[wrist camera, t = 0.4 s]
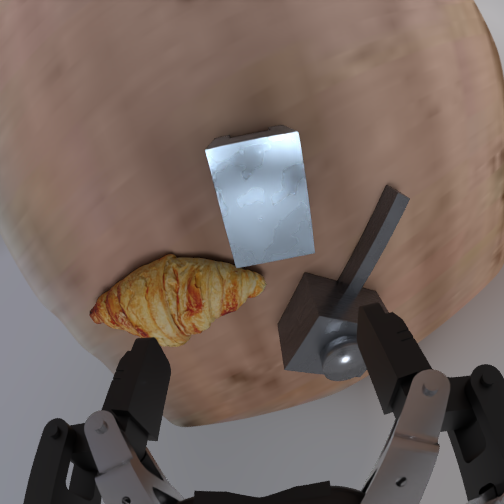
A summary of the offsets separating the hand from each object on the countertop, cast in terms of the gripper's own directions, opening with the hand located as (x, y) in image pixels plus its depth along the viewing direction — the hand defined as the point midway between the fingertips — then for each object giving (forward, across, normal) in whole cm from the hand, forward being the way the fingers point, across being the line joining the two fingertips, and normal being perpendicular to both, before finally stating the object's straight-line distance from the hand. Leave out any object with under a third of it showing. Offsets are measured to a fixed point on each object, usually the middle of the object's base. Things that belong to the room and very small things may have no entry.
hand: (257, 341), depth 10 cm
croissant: (+18, +10, +9) cm, 23 cm away
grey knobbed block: (+18, -10, +10) cm, 23 cm away
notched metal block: (+18, -1, -2) cm, 18 cm away
